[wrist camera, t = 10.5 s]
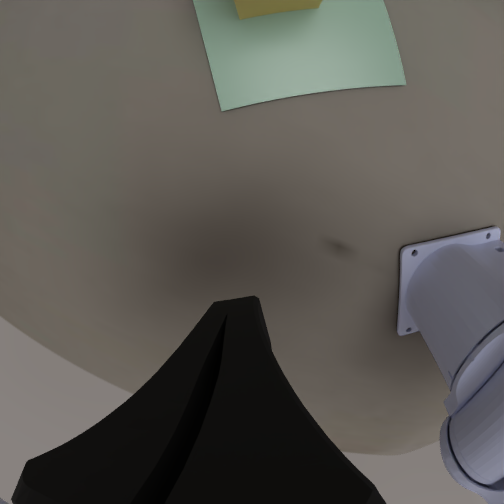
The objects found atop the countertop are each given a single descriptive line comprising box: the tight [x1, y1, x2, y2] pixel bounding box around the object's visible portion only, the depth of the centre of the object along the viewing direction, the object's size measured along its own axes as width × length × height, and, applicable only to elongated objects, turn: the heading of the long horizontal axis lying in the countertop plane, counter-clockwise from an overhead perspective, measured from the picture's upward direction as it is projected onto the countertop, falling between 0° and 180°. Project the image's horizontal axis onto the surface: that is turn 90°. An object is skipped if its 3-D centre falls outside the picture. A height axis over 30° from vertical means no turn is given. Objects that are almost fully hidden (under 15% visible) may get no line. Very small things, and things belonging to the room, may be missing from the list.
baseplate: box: [193, 0, 406, 111], centre depth 12 cm, size 11×11×1 cm
